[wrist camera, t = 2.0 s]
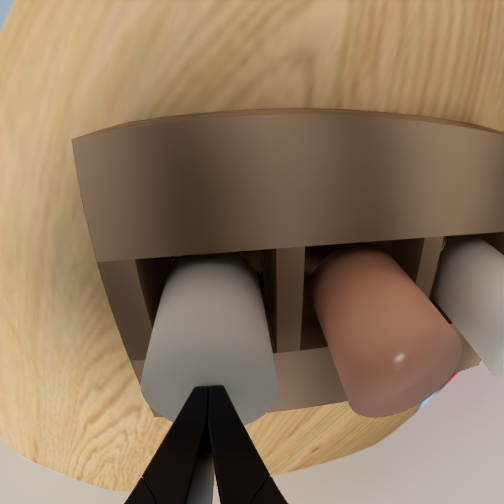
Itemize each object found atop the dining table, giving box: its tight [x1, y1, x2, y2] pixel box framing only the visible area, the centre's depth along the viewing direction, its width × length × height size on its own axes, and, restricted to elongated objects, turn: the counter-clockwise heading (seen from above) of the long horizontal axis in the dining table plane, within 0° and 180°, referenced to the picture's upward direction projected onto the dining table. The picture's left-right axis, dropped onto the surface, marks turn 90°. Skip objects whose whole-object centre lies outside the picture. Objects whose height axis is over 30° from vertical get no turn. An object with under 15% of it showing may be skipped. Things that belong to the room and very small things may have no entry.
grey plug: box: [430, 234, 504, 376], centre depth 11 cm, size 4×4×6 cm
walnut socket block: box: [72, 109, 504, 417], centre depth 15 cm, size 20×14×6 cm
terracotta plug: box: [309, 242, 462, 418], centre depth 11 cm, size 4×4×6 cm
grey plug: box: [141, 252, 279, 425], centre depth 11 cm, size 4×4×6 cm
